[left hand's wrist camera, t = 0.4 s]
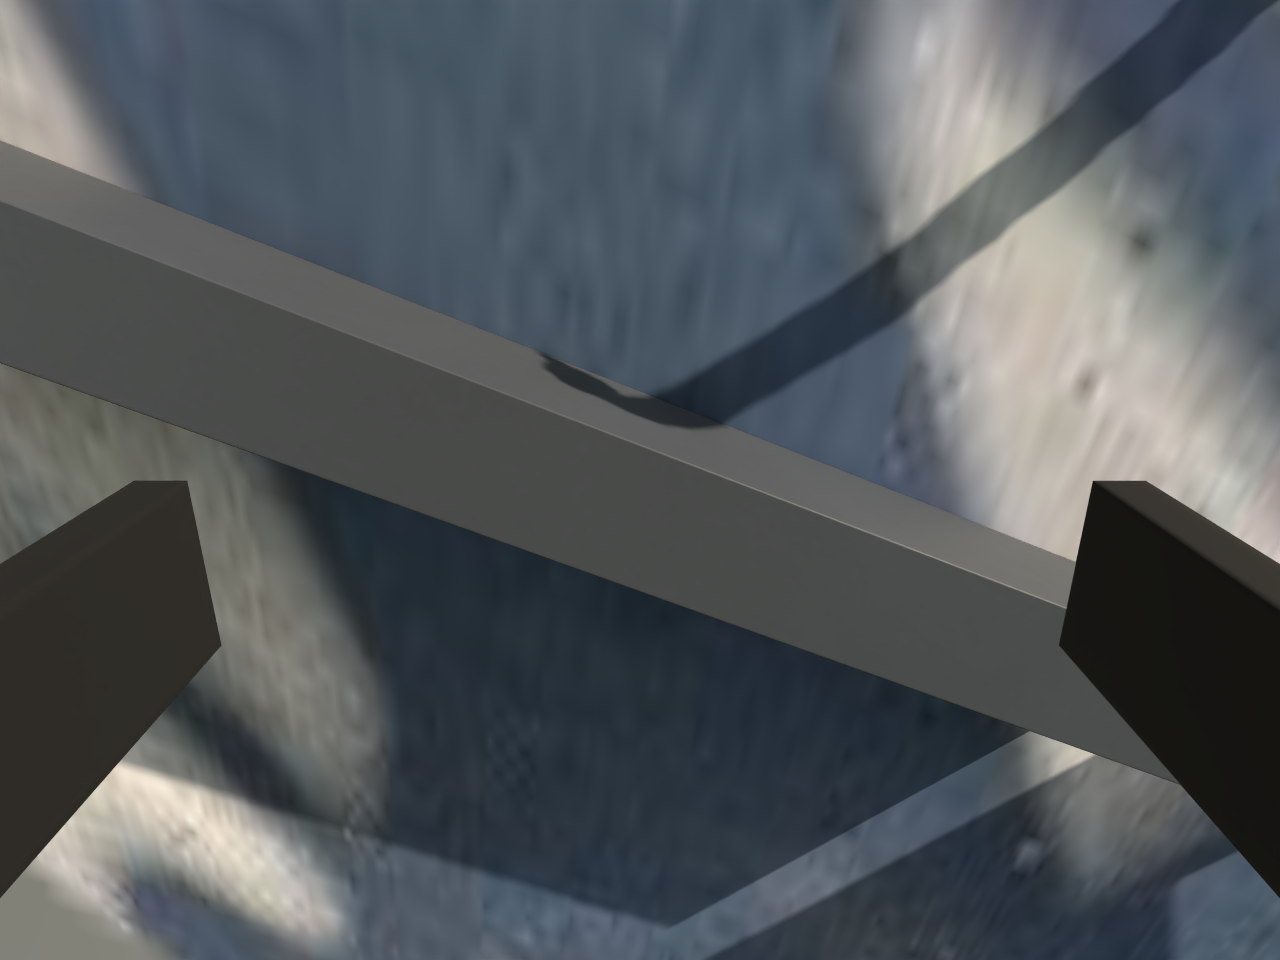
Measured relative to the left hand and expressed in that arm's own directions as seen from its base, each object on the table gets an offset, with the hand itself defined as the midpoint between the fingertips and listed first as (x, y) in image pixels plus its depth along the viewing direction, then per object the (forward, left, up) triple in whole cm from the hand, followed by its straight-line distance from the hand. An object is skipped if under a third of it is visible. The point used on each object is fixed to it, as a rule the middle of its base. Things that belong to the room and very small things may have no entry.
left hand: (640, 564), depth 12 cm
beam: (+6, -4, -27) cm, 28 cm away
